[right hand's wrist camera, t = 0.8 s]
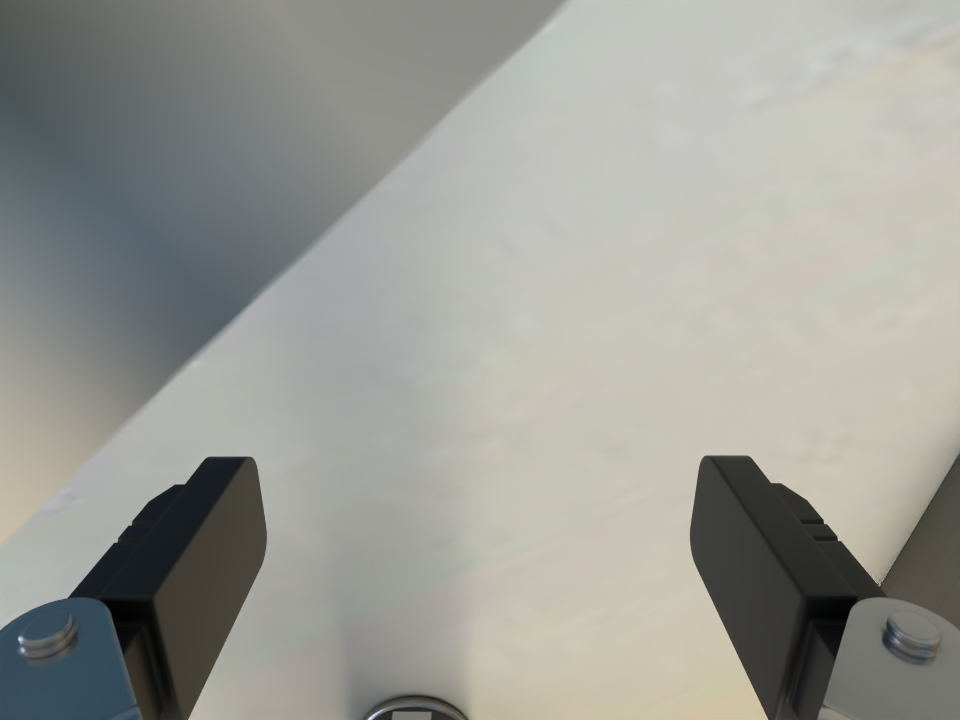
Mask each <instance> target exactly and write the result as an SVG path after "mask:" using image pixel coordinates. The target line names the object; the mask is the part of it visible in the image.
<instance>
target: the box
mask: <svg viewBox="0 0 960 720" xmlns="http://www.w3.org/2000/svg"><path fill="white" fill-rule="evenodd" d="M880 588H881V590H882V591H883V592H884V593H885V594H886V596H887V597H888V598H892V599H898V600H902V601H906V602H909V603H912V604H915V605H918V606H920V607H923V608H925V609H928V610H929V611H931V612H933V613H935V614H937V615H939V616H941V617H942V618H944V619H945V620H947V621H948V622H950V623H951V624H952V625H954V626H955V627H956V628H957V629H959V630H960V455H959V457H958V459H957V460H956V462H955V464H954V465H953V467H952V469H951V470H950V472H949V473H948V475H947V477H946V478H945V480H944V482H943V483H942V485H941V487H940V488H939V490H938V492H937V493H936V495H935V497H934V498H933V500H932V502H931V503H930V505H929V507H928V508H927V510H926V512H925V513H924V515H923V517H922V518H921V520H920V522H919V523H918V525H917V527H916V528H915V530H914V532H913V533H912V535H911V537H910V538H909V540H908V542H907V543H906V545H905V547H904V548H903V550H902V552H901V553H900V555H899V557H898V558H897V560H896V562H895V563H894V565H893V567H892V568H891V570H890V572H889V573H888V575H887V577H886V578H885V580H884V582H883V583H882V585H881V587H880Z"/></svg>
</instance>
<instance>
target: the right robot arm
mask: <svg viewBox="0 0 960 720" xmlns="http://www.w3.org/2000/svg"><path fill="white" fill-rule="evenodd" d="M266 543H267V530H266V523H265V516H264V509H263V503H262V496H261V489H260V482H259V476H258V469H257V465H256V462H255V460H254V459H253V458H252V457H207V458H206V459H205V460H204V461H203V462H202V463H201V465H200V466H199V467H198V468H197V470H196V471H195V472H194V474H193V475H192V476H191V477H190V479H189V480H188V481H187V482H186V484H185V485H174V486H172V487H171V488H169V489H168V490H166V491H165V492H163V493H161V494H160V495H158V496H157V497H155V498H154V499H152V500H151V501H149V502H148V503H147V505H146V506H145V507H144V508H143V509H142V510H141V512H140V513H139V514H138V515H137V516H136V518H135V519H134V520H133V521H132V526H128V527H127V528H126V529H125V531H124V532H123V533H122V534H121V535H120V537H119V538H118V542H117V543H114V544H113V545H112V546H111V547H110V548H109V550H108V551H107V552H106V553H105V554H104V556H103V557H102V558H101V559H100V560H99V562H98V563H97V564H96V565H95V566H94V567H93V569H92V570H91V571H90V572H89V573H88V575H87V576H86V577H85V578H84V579H83V581H82V582H81V583H80V584H79V585H78V586H77V588H76V589H75V590H74V591H73V592H72V594H71V595H70V596H69V597H68V598H67V599H62V600H58V601H54V602H51V603H48V604H45V605H42V606H40V607H37V608H35V609H32V610H31V611H29V612H27V613H25V614H23V615H21V616H19V617H18V618H16V619H15V620H13V621H12V622H10V623H9V624H8V625H6V626H5V627H4V628H3V629H1V630H0V720H188V719H189V716H190V714H191V712H192V710H193V708H194V706H195V704H196V702H197V700H198V698H199V696H200V693H201V691H202V689H203V687H204V685H205V683H206V681H207V679H208V677H209V675H210V673H211V670H212V668H213V666H214V664H215V662H216V660H217V658H218V656H219V654H220V652H221V650H222V647H223V645H224V643H225V641H226V639H227V637H228V635H229V633H230V631H231V629H232V627H233V624H234V622H235V620H236V618H237V616H238V614H239V612H240V610H241V608H242V606H243V604H244V601H245V599H246V597H247V595H248V593H249V591H250V589H251V587H252V585H253V583H254V580H255V578H256V576H257V574H258V572H259V570H260V568H261V566H262V563H263V560H264V556H265V551H266ZM690 544H691V551H692V556H693V560H694V563H695V565H696V567H697V569H698V571H699V574H700V576H701V578H702V580H703V582H704V584H705V586H706V588H707V591H708V593H709V595H710V597H711V599H712V601H713V603H714V605H715V607H716V610H717V612H718V614H719V616H720V618H721V620H722V622H723V624H724V627H725V629H726V631H727V633H728V635H729V637H730V639H731V641H732V643H733V646H734V648H735V650H736V652H737V654H738V656H739V658H740V660H741V663H742V665H743V667H744V669H745V671H746V673H747V675H748V677H749V679H750V682H751V684H752V686H753V688H754V690H755V692H756V694H757V696H758V699H759V701H760V703H761V705H762V707H763V709H764V711H765V713H766V715H767V718H768V720H960V630H959V629H957V628H956V627H955V626H954V625H952V624H951V623H950V622H948V621H947V620H945V619H944V618H942V617H941V616H939V615H937V614H935V613H933V612H931V611H929V610H928V609H925V608H923V607H920V606H918V605H915V604H912V603H909V602H906V601H902V600H898V599H892V598H888V597H887V596H886V594H885V593H884V592H883V591H882V590H881V588H880V587H879V586H878V585H877V584H876V582H875V581H874V580H873V579H872V578H871V576H870V575H869V574H868V573H867V572H866V570H865V569H864V568H863V567H862V566H861V564H860V563H859V562H858V561H857V560H856V558H855V557H854V556H853V555H852V554H851V552H850V551H849V550H848V549H847V548H846V546H845V545H844V544H843V543H842V542H841V541H838V539H837V536H836V534H835V533H834V532H833V531H832V530H831V529H830V527H829V526H828V525H827V524H824V520H823V519H822V518H821V517H820V515H819V514H818V513H817V512H816V511H815V509H814V508H813V507H812V506H811V505H810V503H809V502H808V501H807V500H806V499H804V498H803V497H801V496H800V495H798V494H796V493H795V492H793V491H792V490H790V489H789V488H787V487H786V486H784V485H783V484H781V483H770V481H769V480H768V479H767V477H766V476H765V475H764V474H763V472H762V471H761V470H760V468H759V467H758V466H757V465H756V463H755V462H754V461H753V459H752V458H751V457H749V456H704V457H703V459H702V460H701V463H700V467H699V472H698V479H697V486H696V493H695V500H694V506H693V513H692V520H691V527H690ZM363 720H466V718H465V717H464V716H463V715H462V714H461V713H460V712H459V711H457V710H456V709H454V708H453V707H451V706H449V705H447V704H445V703H443V702H440V701H437V700H433V699H429V698H422V697H405V698H398V699H394V700H390V701H387V702H385V703H383V704H381V705H379V706H377V707H375V708H374V709H373V710H371V711H370V712H369V713H368V714H367V715H366V716H365V718H364V719H363Z"/></svg>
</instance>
